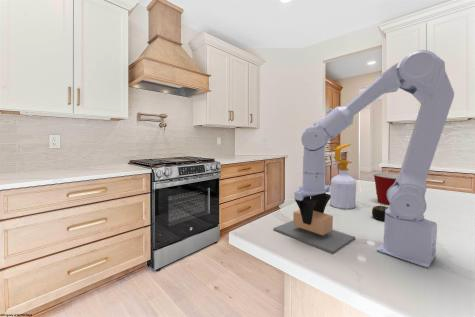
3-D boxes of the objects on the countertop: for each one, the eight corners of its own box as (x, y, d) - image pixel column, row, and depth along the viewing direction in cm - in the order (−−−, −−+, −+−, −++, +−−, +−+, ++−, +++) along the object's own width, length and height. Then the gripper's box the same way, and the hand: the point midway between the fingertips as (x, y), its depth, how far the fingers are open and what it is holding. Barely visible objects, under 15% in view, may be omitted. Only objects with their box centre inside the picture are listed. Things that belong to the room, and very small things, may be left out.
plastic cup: (404, 208, 85) (406, 177, 84) (371, 204, 91) (372, 175, 90) (401, 201, 95) (403, 173, 93) (371, 198, 100) (373, 171, 99)
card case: (303, 220, 67) (303, 207, 67) (332, 229, 60) (332, 215, 60) (293, 225, 64) (293, 211, 64) (322, 235, 57) (322, 220, 57)
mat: (355, 239, 59) (355, 236, 59) (332, 254, 52) (332, 251, 52) (297, 220, 73) (297, 218, 73) (273, 230, 66) (273, 228, 65)
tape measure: (393, 224, 70) (394, 213, 69) (369, 219, 74) (369, 208, 74) (398, 219, 74) (398, 208, 74) (374, 214, 79) (375, 204, 79)
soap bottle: (359, 209, 84) (362, 144, 82) (335, 209, 85) (337, 144, 82) (348, 202, 93) (350, 143, 91) (326, 202, 93) (328, 143, 91)
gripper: (314, 168, 69) (313, 212, 70) (285, 173, 59) (284, 223, 61) (337, 171, 63) (336, 218, 64) (308, 176, 54) (307, 231, 55)
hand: (312, 221), depth 62 cm, fingers closed on card case, 5 cm apart
